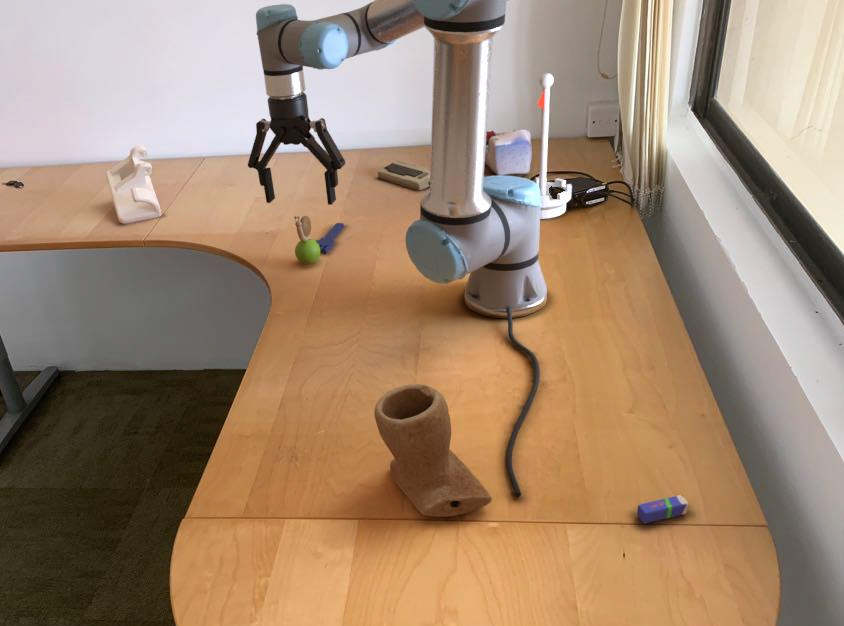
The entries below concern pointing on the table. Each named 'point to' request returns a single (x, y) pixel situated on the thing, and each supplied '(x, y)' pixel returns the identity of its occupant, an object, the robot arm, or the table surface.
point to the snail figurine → (306, 242)
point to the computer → (406, 175)
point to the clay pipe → (426, 452)
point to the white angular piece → (133, 188)
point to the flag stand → (549, 204)
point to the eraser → (662, 509)
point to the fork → (329, 238)
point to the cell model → (508, 152)
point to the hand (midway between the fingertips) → (301, 201)
